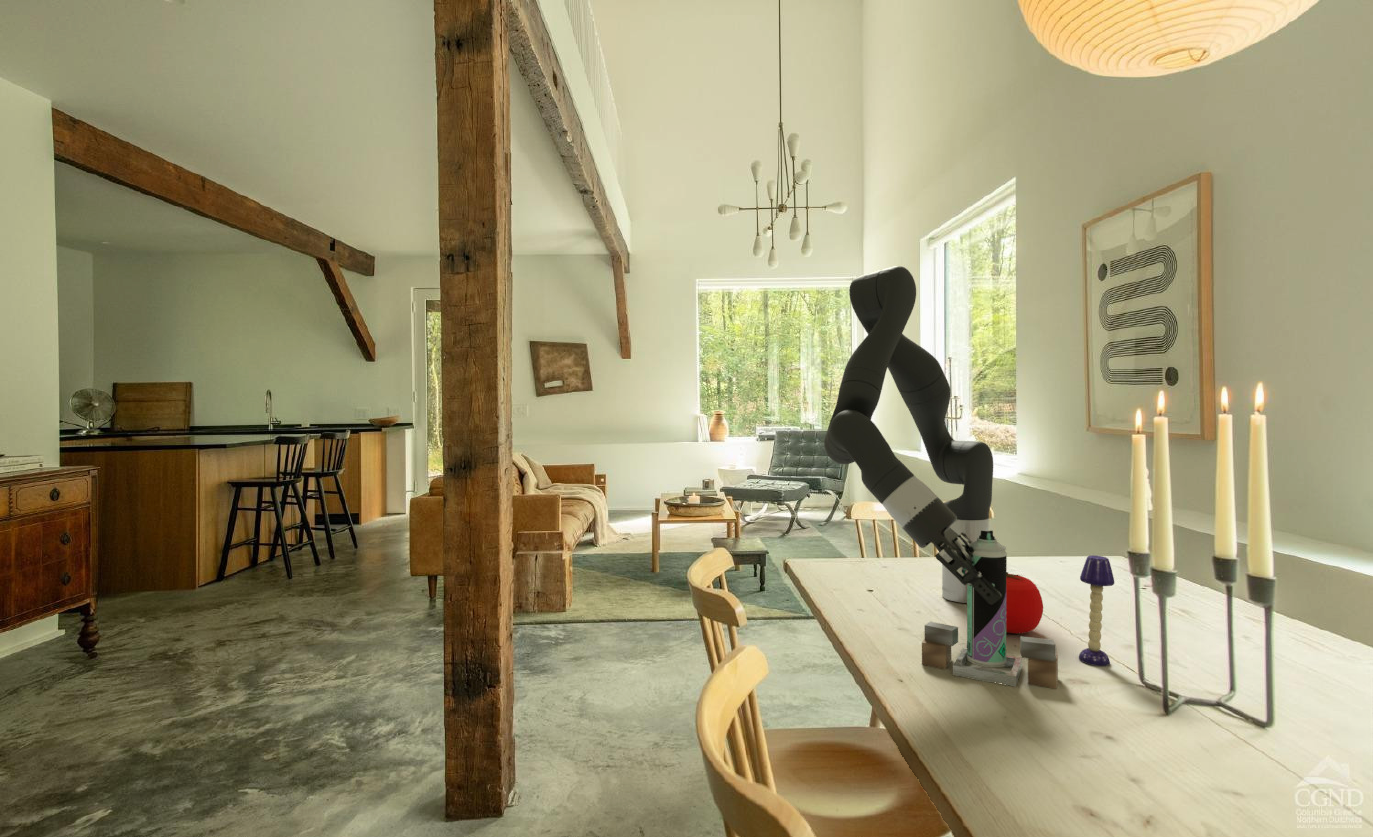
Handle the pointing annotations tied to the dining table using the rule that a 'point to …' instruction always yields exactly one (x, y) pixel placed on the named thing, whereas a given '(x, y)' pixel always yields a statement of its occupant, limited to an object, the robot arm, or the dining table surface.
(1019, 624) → the tomato
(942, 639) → the stand
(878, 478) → the robot arm
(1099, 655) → the toy lamp
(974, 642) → the spray can
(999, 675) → the socket collar
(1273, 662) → the dining table surface
